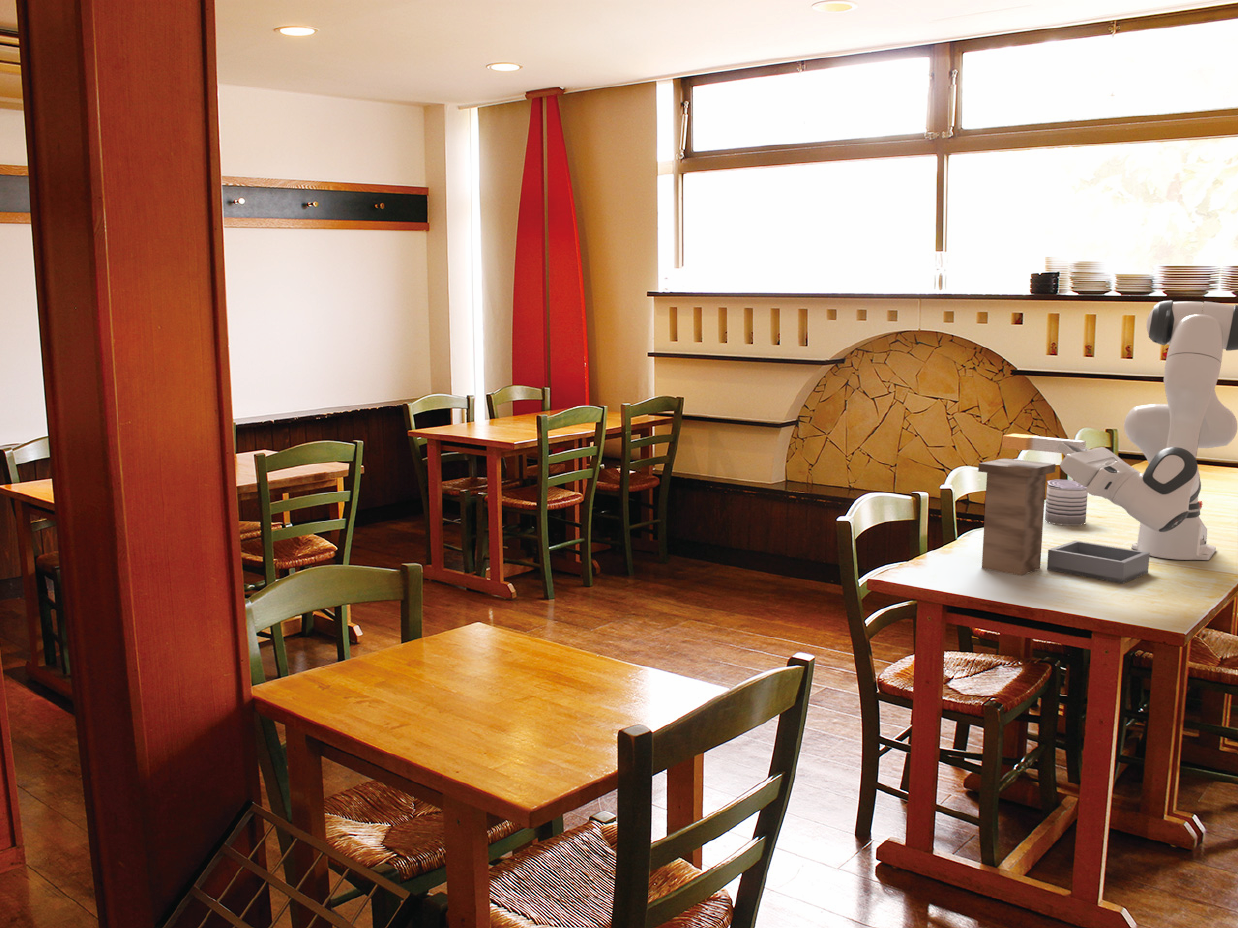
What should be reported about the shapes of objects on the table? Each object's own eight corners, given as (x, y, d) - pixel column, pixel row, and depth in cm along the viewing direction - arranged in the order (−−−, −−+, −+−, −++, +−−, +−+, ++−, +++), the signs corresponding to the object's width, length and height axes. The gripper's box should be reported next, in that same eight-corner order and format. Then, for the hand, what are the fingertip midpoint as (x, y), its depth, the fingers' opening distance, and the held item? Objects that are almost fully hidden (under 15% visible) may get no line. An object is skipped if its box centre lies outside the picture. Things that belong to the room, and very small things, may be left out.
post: (998, 559, 268) (1004, 458, 264) (1048, 568, 259) (1055, 464, 255) (973, 567, 259) (978, 463, 256) (1023, 577, 250) (1030, 469, 246)
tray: (1074, 559, 268) (1075, 540, 267) (1148, 572, 255) (1149, 552, 254) (1047, 569, 258) (1048, 549, 257) (1122, 583, 245) (1124, 562, 244)
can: (1080, 518, 320) (1083, 480, 318) (1090, 526, 309) (1093, 486, 307) (1040, 517, 322) (1043, 478, 320) (1049, 525, 311) (1051, 485, 309)
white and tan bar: (1002, 447, 254) (1002, 435, 254) (1014, 445, 258) (1014, 433, 258) (1076, 455, 241) (1077, 442, 241) (1087, 453, 245) (1088, 440, 245)
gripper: (1141, 463, 244) (1091, 429, 252) (1103, 473, 230) (1052, 436, 238) (1125, 485, 247) (1076, 451, 255) (1087, 496, 233) (1037, 459, 241)
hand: (1064, 444), depth 246 cm, fingers closed on white and tan bar, 3 cm apart
